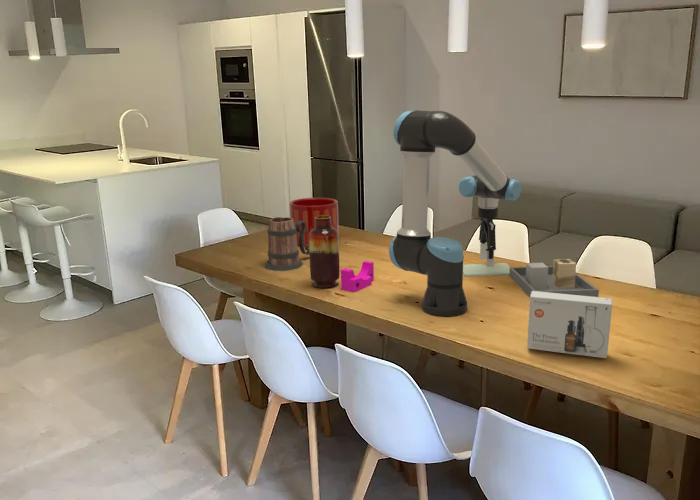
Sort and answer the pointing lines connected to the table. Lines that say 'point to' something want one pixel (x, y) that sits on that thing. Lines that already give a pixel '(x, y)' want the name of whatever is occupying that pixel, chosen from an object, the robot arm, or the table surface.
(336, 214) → the planter
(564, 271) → the maple box
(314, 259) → the vase
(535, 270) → the grey box
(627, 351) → the table surface
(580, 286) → the parts bin
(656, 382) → the table surface
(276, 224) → the tankard
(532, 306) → the skincare box
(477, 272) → the mat
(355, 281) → the toy block
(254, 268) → the table surface
